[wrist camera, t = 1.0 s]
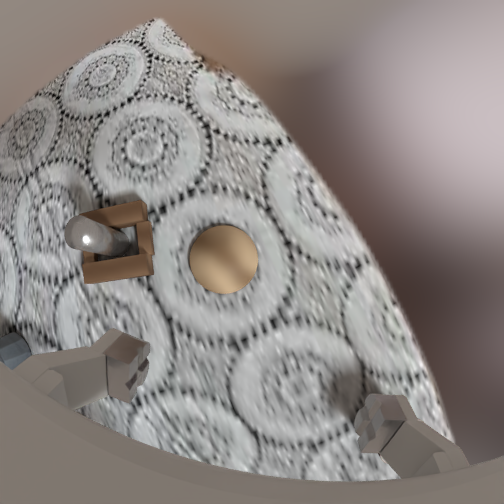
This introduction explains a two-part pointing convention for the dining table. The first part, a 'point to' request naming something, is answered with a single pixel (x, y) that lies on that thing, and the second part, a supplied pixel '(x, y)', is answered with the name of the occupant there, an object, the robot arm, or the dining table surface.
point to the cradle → (122, 266)
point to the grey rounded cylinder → (95, 237)
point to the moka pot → (13, 350)
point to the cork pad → (223, 259)
